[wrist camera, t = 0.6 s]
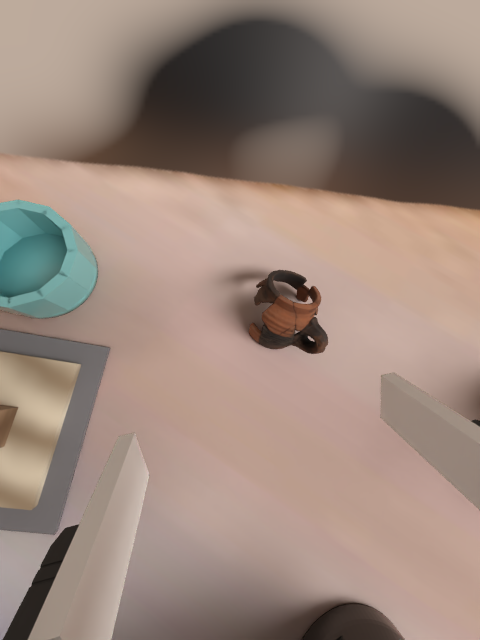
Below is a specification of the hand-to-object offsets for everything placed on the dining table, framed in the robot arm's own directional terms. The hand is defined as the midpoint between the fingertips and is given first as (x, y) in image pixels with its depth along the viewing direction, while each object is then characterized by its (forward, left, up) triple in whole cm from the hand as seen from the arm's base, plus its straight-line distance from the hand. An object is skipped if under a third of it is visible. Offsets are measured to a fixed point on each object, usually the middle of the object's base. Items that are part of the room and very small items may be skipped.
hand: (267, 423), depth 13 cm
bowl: (+11, +26, -20) cm, 34 cm away
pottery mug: (+11, -6, -20) cm, 24 cm away
